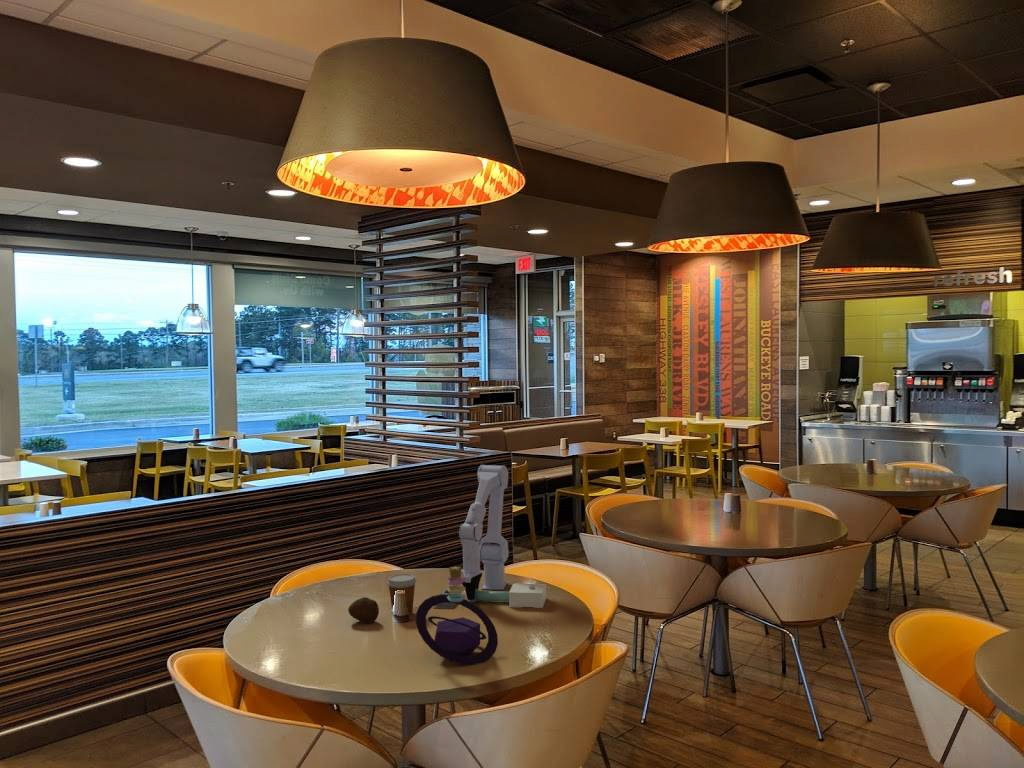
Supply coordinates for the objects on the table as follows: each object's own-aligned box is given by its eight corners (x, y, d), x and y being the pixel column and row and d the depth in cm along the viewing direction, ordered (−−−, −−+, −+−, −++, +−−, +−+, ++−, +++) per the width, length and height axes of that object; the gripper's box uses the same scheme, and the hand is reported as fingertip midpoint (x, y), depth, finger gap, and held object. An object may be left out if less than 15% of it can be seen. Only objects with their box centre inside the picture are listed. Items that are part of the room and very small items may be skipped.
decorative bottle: (442, 677, 209) (440, 583, 207) (404, 654, 226) (401, 567, 224) (511, 656, 222) (509, 568, 221) (470, 635, 239) (468, 553, 238)
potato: (376, 626, 249) (375, 601, 249) (345, 626, 250) (344, 601, 249) (382, 618, 256) (381, 594, 256) (352, 618, 257) (351, 594, 257)
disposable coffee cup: (415, 618, 255) (414, 581, 255) (385, 618, 256) (384, 582, 255) (419, 608, 265) (418, 573, 264) (390, 609, 265) (389, 573, 265)
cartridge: (471, 598, 273) (471, 588, 273) (515, 599, 270) (514, 589, 270) (469, 602, 269) (469, 591, 269) (513, 603, 267) (513, 592, 267)
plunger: (447, 595, 277) (447, 587, 277) (455, 595, 276) (455, 588, 276) (445, 597, 274) (445, 590, 274) (453, 597, 274) (453, 590, 273)
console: (443, 594, 280) (443, 588, 280) (462, 594, 279) (462, 588, 279) (433, 608, 265) (432, 601, 265) (452, 608, 264) (452, 602, 264)
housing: (513, 597, 274) (513, 581, 273) (546, 598, 272) (545, 581, 272) (509, 607, 264) (508, 589, 264) (542, 608, 262) (542, 590, 262)
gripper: (464, 552, 278) (465, 590, 279) (455, 563, 264) (456, 603, 264) (484, 552, 277) (485, 591, 278) (475, 563, 263) (477, 604, 263)
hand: (472, 597), depth 271 cm, fingers open, 5 cm apart
